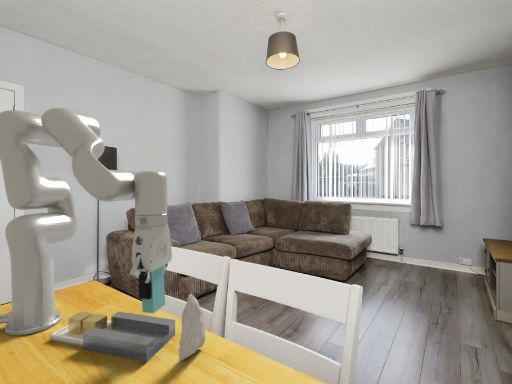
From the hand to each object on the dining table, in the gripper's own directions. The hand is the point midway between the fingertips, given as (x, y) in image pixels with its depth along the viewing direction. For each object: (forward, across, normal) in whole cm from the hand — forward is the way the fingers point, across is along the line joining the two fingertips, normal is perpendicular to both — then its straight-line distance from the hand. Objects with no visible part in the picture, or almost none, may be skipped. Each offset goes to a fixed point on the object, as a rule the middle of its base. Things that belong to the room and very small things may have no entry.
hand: (152, 293), depth 69 cm
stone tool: (+14, -1, -11) cm, 18 cm away
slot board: (+13, 0, +6) cm, 15 cm away
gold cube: (+13, 0, +18) cm, 22 cm away
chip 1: (+13, 0, +23) cm, 26 cm away
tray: (+13, 0, +21) cm, 25 cm away
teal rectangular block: (+4, 0, 0) cm, 4 cm away
